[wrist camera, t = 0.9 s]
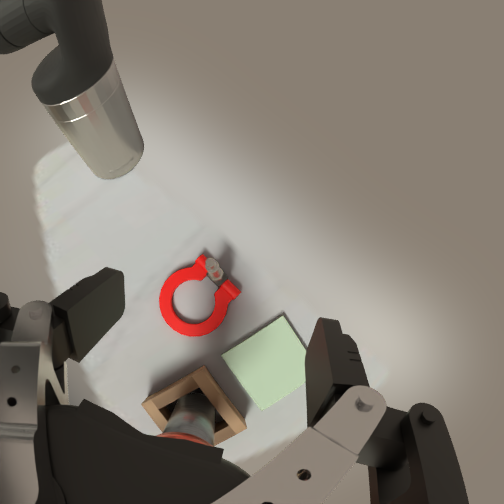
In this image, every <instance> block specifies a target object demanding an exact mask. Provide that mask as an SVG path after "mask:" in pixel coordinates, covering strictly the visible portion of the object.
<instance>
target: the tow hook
mask: <svg viewBox="0 0 504 504" xmlns="http://www.w3.org/2000/svg"><path fill="white" fill-rule="evenodd" d="M206 276H208V277H209V278H210V279H211V280H212V281H213V282H214V283H215V284H216V285H217V286H218V287H220V288H219V289H218V290H217V291H216V292H215V294H214V296H215V308H214V311H213V313H212V315H211V316H210V317H209V318H208V319H207V320H206V321H204V322H202V323H199V324H190V323H186V322H184V321H182V320H181V319H180V318H179V317H178V316H177V315H176V313H175V312H174V309H173V306H172V297H173V293H174V291H175V289H176V288H177V287H178V286H179V285H180V284H182V283H183V282H185V281H188V280H199V281H201V280H203V279H204V278H205V277H206ZM240 293H241V291H240V290H239V289H238V288H237V287H236V286H234V285H233V284H232V283H231V282H230V281H229V280H228V276H227V275H226V274H225V273H224V272H223V270H222V269H221V268H220V267H219V264H218V262H217V261H216V260H214V259H213V258H206V257H205V256H204V255H203V254H202V255H201V256H199V257H198V258H197V260H196V261H195V264H194V265H193V266H192V267H187V268H184V269H181V270H178V271H177V272H175V273H173V274H172V275H171V276H170V277H169V278H168V279H167V280H166V281H165V283H164V285H163V287H162V289H161V293H160V297H159V303H160V310H161V313H162V316H163V318H164V319H165V321H166V323H167V324H168V325H169V326H170V327H171V328H172V329H173V330H175V331H177V332H178V333H180V334H183V335H187V336H202V335H205V334H208V333H210V332H212V331H213V330H215V329H216V328H217V327H218V326H219V325H220V324H221V323H222V321H223V319H224V317H225V315H226V312H227V307H228V303H229V302H230V301H231V300H234V299H235V298H236V297H237V296H238V295H239V294H240Z"/></svg>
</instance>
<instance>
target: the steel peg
mask: <svg viewBox="0 0 504 504" xmlns="http://www.w3.org/2000/svg"><path fill="white" fill-rule="evenodd" d="M214 430H215V407H214V406H213V405H212V403H211V402H210V401H209V399H208V398H207V397H206V396H205V395H203V394H200V393H188V394H186V395H184V396H183V397H181V398H180V399H179V400H178V402H177V404H176V406H175V408H174V410H173V412H172V414H171V416H170V418H169V420H168V423H167V425H166V427H165V429H164V431H163V433H162V434H160V435H157V436H159V437H167V438H177V439H186V440H190V441H193V442H197V443H201V444H205V445H209V446H213V447H214Z"/></svg>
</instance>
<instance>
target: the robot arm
mask: <svg viewBox="0 0 504 504" xmlns="http://www.w3.org/2000/svg"><path fill="white" fill-rule="evenodd" d="M53 33H55V34H56V37H57V40H58V43H59V45H58V46H57V47H56V48H55V49H54V50H52V51H51V52H50V53H49V54H48V55H47V56H46V57H45V58H44V59H43V60H42V62H41V63H40V64H39V66H38V67H37V69H36V71H35V72H34V74H33V77H32V88H33V91H34V93H35V94H36V96H37V97H38V99H39V100H40V102H41V103H42V105H43V106H44V108H45V109H46V111H47V112H48V113H49V115H50V116H51V117H52V119H53V120H54V122H55V123H56V124H57V126H58V127H59V129H60V130H61V131H62V133H63V134H64V135H65V137H66V138H67V139H68V141H69V142H70V143H71V145H72V146H73V147H74V149H75V150H76V151H77V153H78V154H79V155H80V157H81V158H82V159H83V161H84V162H85V163H86V164H87V166H88V167H89V168H90V169H91V171H92V172H93V173H94V174H95V175H96V176H98V177H100V178H102V179H114V178H118V177H121V176H123V175H125V174H126V173H128V172H129V171H130V170H132V169H133V168H134V167H135V166H136V165H137V163H138V162H139V160H140V159H141V157H142V154H143V150H144V143H143V139H142V136H141V134H140V131H139V128H138V126H137V123H136V120H135V118H134V115H133V112H132V110H131V107H130V104H129V101H128V98H127V96H126V93H125V90H124V87H123V84H122V81H121V78H120V75H119V72H118V70H117V67H116V64H115V61H114V58H113V54H112V51H111V47H110V42H109V35H108V28H107V23H106V19H105V15H104V11H103V5H102V0H0V54H9V53H12V52H15V51H18V50H20V49H22V48H24V47H26V46H28V45H30V44H32V43H34V42H36V41H38V40H40V39H42V38H44V37H46V36H49V35H51V34H53ZM124 309H125V292H124V275H123V272H122V271H119V270H115V269H112V268H108V267H105V268H103V269H102V270H100V271H99V272H98V273H96V274H95V275H92V276H89V277H87V278H84V279H82V280H81V281H79V282H78V283H76V285H73V286H72V287H71V288H70V289H68V290H66V291H65V292H63V293H62V294H61V295H59V296H58V297H56V298H55V299H54V300H52V301H51V302H50V303H47V302H45V301H32V302H29V303H26V304H25V305H23V306H22V307H21V308H20V309H19V308H14V307H10V303H9V299H8V296H7V295H6V294H4V293H2V292H0V504H322V503H323V502H324V501H325V500H326V499H327V498H328V496H329V495H330V494H331V493H332V492H333V491H334V489H335V488H336V487H337V486H338V484H339V483H340V482H341V481H342V479H343V478H344V477H345V476H346V474H347V473H348V472H349V470H350V469H351V468H352V466H353V465H354V464H355V462H356V463H360V464H364V465H368V471H369V485H370V501H371V504H469V502H468V497H467V493H466V489H465V485H464V481H463V477H462V473H461V470H460V466H459V463H458V460H457V456H456V453H455V450H454V447H453V444H452V441H451V438H450V435H449V432H448V430H447V427H446V424H445V422H444V419H443V416H442V415H441V413H440V412H439V411H438V409H436V408H435V407H434V406H432V405H430V404H426V403H418V404H415V405H413V406H412V407H411V409H410V410H409V411H408V412H404V411H400V410H397V409H393V408H390V407H387V406H386V401H385V399H384V398H383V396H382V395H381V394H380V393H379V392H378V391H376V390H375V389H373V388H370V386H369V383H368V380H367V376H366V373H365V370H364V366H363V363H362V362H361V357H360V354H359V351H358V348H357V345H356V343H355V342H354V340H353V339H352V338H351V337H350V336H349V335H347V334H343V333H342V330H341V327H340V323H339V321H338V320H333V319H327V318H321V317H320V318H319V319H318V321H317V323H316V326H315V329H314V332H313V334H312V337H311V340H310V343H309V345H308V348H307V351H306V355H305V379H306V400H307V429H306V430H305V431H304V432H303V433H302V434H300V435H299V436H298V437H297V438H296V439H295V440H294V441H293V442H292V443H291V444H290V445H288V446H287V447H286V448H285V449H284V450H283V451H282V452H281V453H279V454H278V455H277V456H276V457H275V458H273V459H272V460H271V461H270V462H269V463H268V464H266V465H265V466H264V467H262V468H261V469H260V470H259V471H257V472H256V473H255V474H253V475H252V476H250V475H249V474H248V473H246V472H245V471H244V470H242V469H241V468H240V467H238V466H236V465H235V464H233V463H231V462H229V461H227V460H225V459H223V458H222V454H223V450H224V449H222V448H217V447H213V446H209V445H205V444H201V443H197V442H193V441H190V440H186V439H177V438H167V437H159V436H152V435H146V434H143V433H141V432H139V431H138V430H137V429H135V428H134V427H132V426H131V425H129V424H128V423H126V422H125V421H124V420H122V419H121V418H119V417H118V416H117V415H115V414H114V413H112V412H110V411H108V410H106V409H104V408H102V407H100V406H98V405H96V404H93V403H91V402H89V401H87V400H85V399H84V400H83V401H82V402H81V404H80V405H79V406H73V405H69V398H68V383H67V382H68V381H67V364H66V360H67V359H68V358H71V359H73V360H75V361H77V362H78V363H79V362H80V361H81V360H82V359H83V358H84V357H85V356H86V355H87V353H88V352H89V351H90V350H91V349H92V348H93V347H94V346H95V345H96V344H97V343H98V341H99V340H100V339H101V338H102V337H103V336H104V335H105V334H106V333H107V332H108V331H109V330H110V329H111V327H112V326H113V325H114V324H115V323H116V322H117V321H118V320H119V319H120V318H121V317H122V315H123V313H124ZM408 463H409V464H408Z"/></svg>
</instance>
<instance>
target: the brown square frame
mask: <svg viewBox="0 0 504 504" xmlns="http://www.w3.org/2000/svg"><path fill="white" fill-rule="evenodd" d="M199 387H200V388H201V390H202V391H203V393H204V394H205V395H206V397H207V398H208V399H209V401H210V402H211V403H212V405H213V406H214V407H215V408H216V410H217V411H218V412H219V414H220V415H221V416H222V417H223V420H222V421H220V422H218V423H216V424H215V430H214V446H215V445H217V444H219V443H221V442H223V441H225V440H227V439H228V438H230V437H232V436H234V435H236V434H238V433H240V432H241V431H243V430H245V429H247V426H246V422H245V419H244V418H243V417H242V415H241V414H240V413H239V412H238V410H237V409H236V408H235V406H234V405H233V404H232V402H231V401H230V400H229V399H228V397H227V396H226V395H225V393H224V392H223V391H222V389H221V388H220V386H219V385H218V384H217V382H216V381H215V380H214V378H213V377H212V375H211V374H210V373H209V371H208V370H207V368H206V367H205V365H204V366H202V367H201V368H199V369H197V370H195V371H194V372H192V373H190V374H189V375H187V376H185V377H183V378H182V379H180V380H178V381H176V382H174V383H173V384H171V385H169V386H167V387H165V388H164V389H162V390H160V391H158V392H156V393H154V394H153V395H151V396H149V397H147V398H146V399H145V401H144V402H143V403H142V404H141V405H142V406H143V407H144V409H145V410H146V411H147V413H148V414H149V415H150V417H151V418H152V419H153V421H154V422H155V423H156V425H157V426H158V427H159V428H160V430H161V431H162V432H163V431H164V429H165V427H166V425H167V423H168V420H169V418H170V416H171V414H172V413H171V412H170V411H169V409H168V408H167V407H166V405H168V404H170V403H171V402H173V401H175V400H177V399H179V398H181V397H183V396H184V395H186V394H188V393H190V392H192V391H193V390H195V389H197V388H199Z"/></svg>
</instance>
